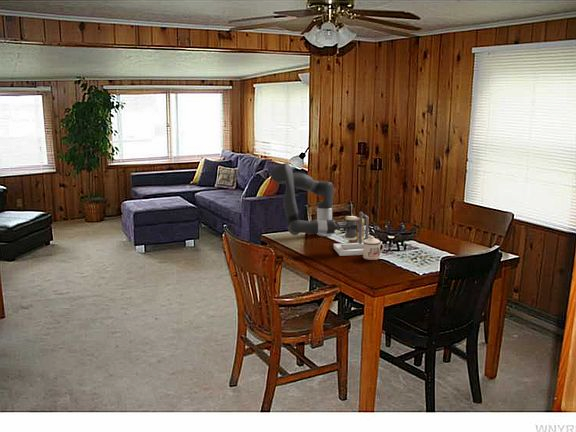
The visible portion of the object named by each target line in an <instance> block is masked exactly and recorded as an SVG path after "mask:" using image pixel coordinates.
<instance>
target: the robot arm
mask: <svg viewBox="0 0 576 432" xmlns="http://www.w3.org/2000/svg"><path fill="white" fill-rule="evenodd" d="M270 177H271V179H272V181H274V182H275V183H277V184H280V185H285V193H284V196H283V208H284V213H285V216H286V223H287V230H288V233H290V234H291V235H293V236H298V235H299V234H301V233H302V234H304V233H305V234H308V235H311V234H312V235H313V234H316V235H317V236H319V237H330V236H333V234H335V232H336V231H338V232H346V231H350V229H357V225H346V221H335V220H334V219H333V203H334V196H335V195H334V194H335V192H334V191H335V187H334V184H333V182H331V181H325V180H315V179H313V178H312V176H311V175H309V174H307V173H304V172H293V168H292V166H291V165H290V164H289V163H286V162H284V163H281V164H279V165H277V166H275V167H273V168H272V169H270ZM295 188H296V189H299V190H303V191H306V192H311V193H313V194H314V195H317V196H319V197H323V200H321V201H319V202H317V203H316V220H305V219H304V220H302V219H299V209H298V204H297V199H296V194H295V191H296V190H295ZM347 227H348V229H347Z"/></svg>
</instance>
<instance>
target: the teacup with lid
mask: <svg viewBox="0 0 576 432" xmlns="http://www.w3.org/2000/svg"><path fill="white" fill-rule="evenodd" d="M381 247H382V248H381ZM362 249H363V255H362V257H363V259H364V260H369V261H374V260H376V261H377V260H379V259H380V258H381V257H380V256H381V255H380V254H381V253H382V252H383V251H384V250H385V245H384V244H383V243H382V242H381V241H380V240H379V239H377V238H375V237H374V236H373V235H371V236H370V237H368V239H366V240H365V239H364V241H363V248H362Z"/></svg>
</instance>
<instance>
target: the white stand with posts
mask: <svg viewBox="0 0 576 432" xmlns="http://www.w3.org/2000/svg"><path fill="white" fill-rule="evenodd" d="M363 217H364V219H365V223H364V240H366V239H368V238H369V224H370V223H369V216H368V215H366V214H364V213H363V211H359V217H358V218H359V243H348V242H346V243H345V242H344V243H342V242H340V243H333V250H335V252H336V253H337V254H338V255H339V256H340V257H341V256H343V257H345V256H363V243H362V218H363Z"/></svg>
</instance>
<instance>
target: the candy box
mask: <svg viewBox="0 0 576 432" xmlns="http://www.w3.org/2000/svg"><path fill="white" fill-rule="evenodd" d="M356 217H357V220H356V225H357V229H356V237H357V239H356V240H347V241H348V242H347V243H359V217H358V216H356ZM364 240H365V218H363V217H362V243H363V241H364Z"/></svg>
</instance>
